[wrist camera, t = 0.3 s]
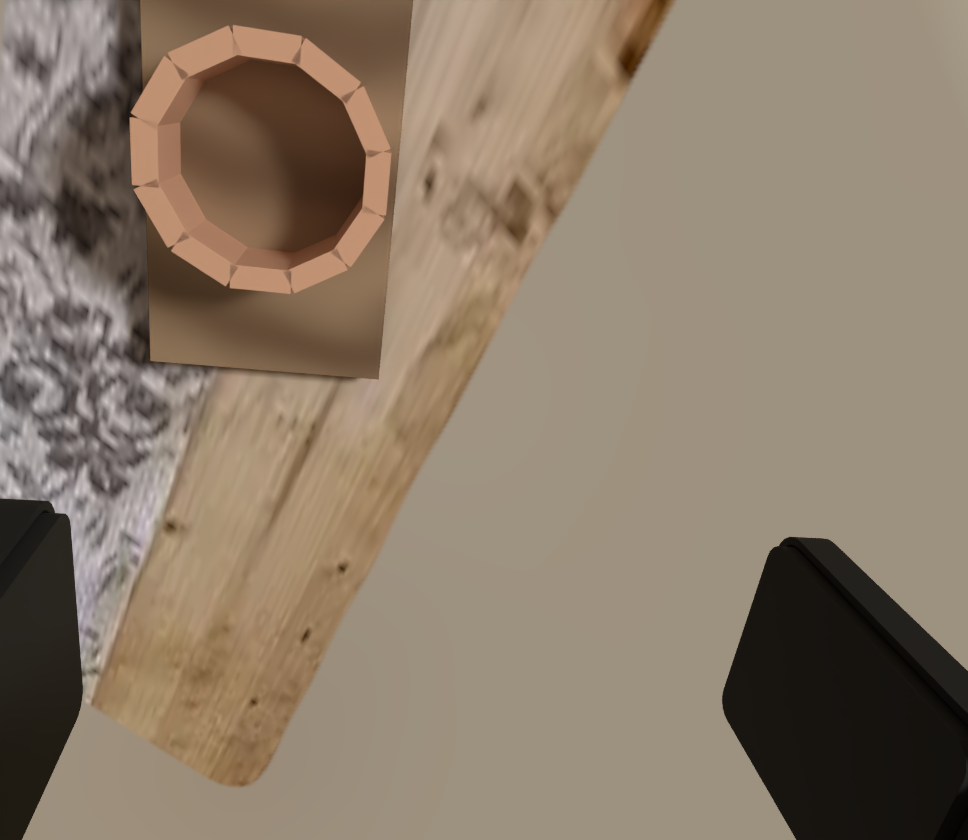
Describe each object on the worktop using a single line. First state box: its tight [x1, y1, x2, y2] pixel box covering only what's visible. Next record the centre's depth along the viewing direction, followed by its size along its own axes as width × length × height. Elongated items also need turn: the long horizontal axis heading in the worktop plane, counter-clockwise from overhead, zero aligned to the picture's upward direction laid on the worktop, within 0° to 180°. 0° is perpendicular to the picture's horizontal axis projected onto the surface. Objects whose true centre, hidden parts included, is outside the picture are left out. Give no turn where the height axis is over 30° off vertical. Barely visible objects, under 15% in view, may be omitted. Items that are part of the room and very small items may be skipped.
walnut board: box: [140, 0, 413, 379], centre depth 35 cm, size 20×11×2 cm, turn 172°
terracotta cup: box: [130, 25, 391, 294], centre depth 32 cm, size 10×10×4 cm
